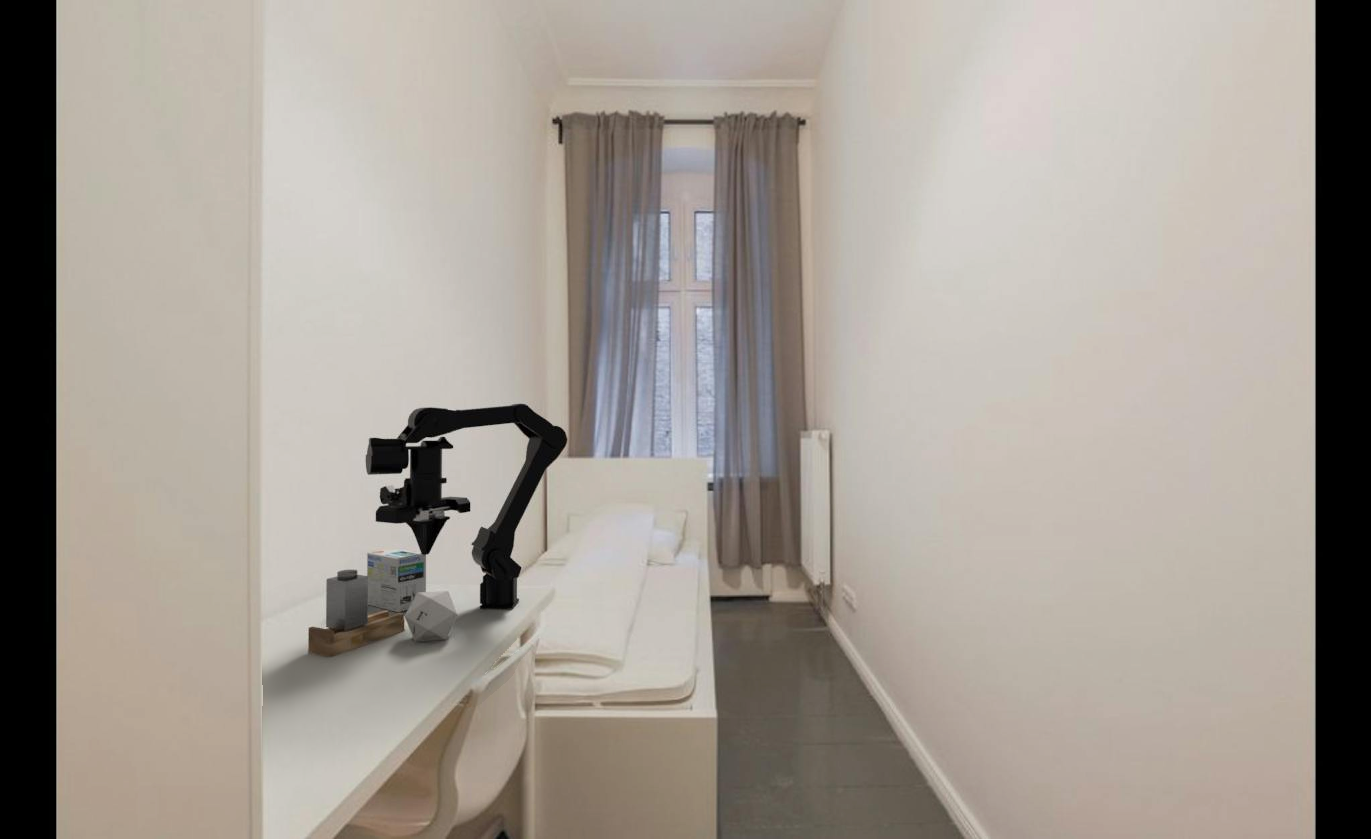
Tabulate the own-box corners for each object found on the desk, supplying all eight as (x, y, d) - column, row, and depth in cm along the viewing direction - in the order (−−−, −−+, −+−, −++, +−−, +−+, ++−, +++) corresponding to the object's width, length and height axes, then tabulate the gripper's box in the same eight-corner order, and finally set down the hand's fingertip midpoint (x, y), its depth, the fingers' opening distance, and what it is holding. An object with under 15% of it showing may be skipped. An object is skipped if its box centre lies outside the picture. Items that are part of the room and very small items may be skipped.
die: (397, 640, 117) (392, 605, 111) (432, 605, 124) (428, 571, 118) (435, 661, 115) (431, 627, 109) (468, 625, 122) (466, 591, 116)
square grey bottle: (349, 625, 115) (349, 567, 115) (367, 628, 113) (367, 570, 113) (326, 632, 111) (326, 572, 111) (344, 636, 109) (345, 575, 109)
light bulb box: (427, 605, 137) (427, 552, 137) (397, 613, 131) (398, 558, 131) (394, 597, 142) (395, 546, 142) (365, 605, 137) (365, 552, 137)
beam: (383, 626, 122) (383, 604, 122) (404, 630, 120) (405, 608, 120) (307, 652, 109) (308, 627, 109) (330, 657, 107) (330, 632, 107)
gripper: (430, 468, 140) (430, 543, 140) (354, 474, 123) (353, 559, 123) (472, 470, 136) (471, 547, 136) (399, 477, 119) (398, 565, 119)
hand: (425, 554), depth 128 cm, fingers closed
